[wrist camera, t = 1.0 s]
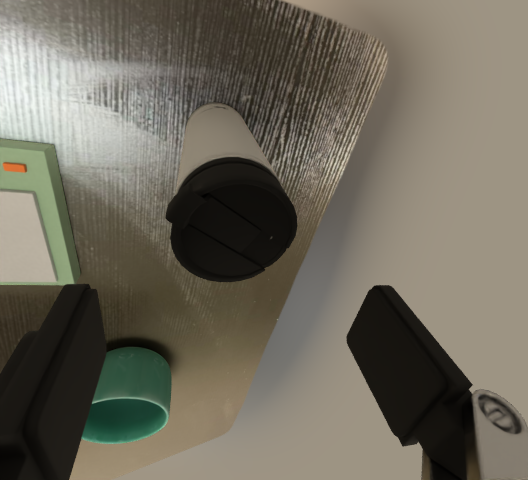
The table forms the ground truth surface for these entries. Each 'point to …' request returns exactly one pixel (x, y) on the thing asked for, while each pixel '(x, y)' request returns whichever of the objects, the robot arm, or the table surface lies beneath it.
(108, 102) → the table surface
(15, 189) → the scale
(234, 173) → the travel mug
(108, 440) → the mug
